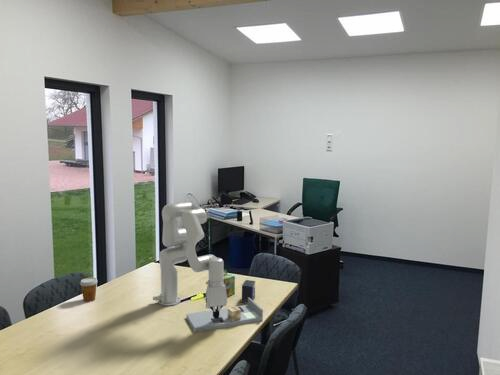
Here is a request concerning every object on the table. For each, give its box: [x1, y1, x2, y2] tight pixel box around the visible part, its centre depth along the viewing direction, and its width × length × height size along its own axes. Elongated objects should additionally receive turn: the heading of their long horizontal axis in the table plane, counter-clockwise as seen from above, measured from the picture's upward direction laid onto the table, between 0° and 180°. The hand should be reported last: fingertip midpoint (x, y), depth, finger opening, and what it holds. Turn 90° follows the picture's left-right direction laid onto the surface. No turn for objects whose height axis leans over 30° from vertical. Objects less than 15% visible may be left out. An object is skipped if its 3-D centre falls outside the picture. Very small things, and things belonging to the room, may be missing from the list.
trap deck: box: [185, 298, 264, 333], centre depth 208 cm, size 36×18×6 cm, turn 113°
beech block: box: [227, 306, 241, 321], centre depth 205 cm, size 5×5×5 cm
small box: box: [241, 279, 256, 304], centre depth 235 cm, size 11×6×10 cm, turn 168°
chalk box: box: [224, 269, 236, 298], centre depth 244 cm, size 9×9×15 cm
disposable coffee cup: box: [79, 277, 99, 303], centre depth 233 cm, size 10×10×12 cm
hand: (216, 317), depth 202 cm, fingers closed
